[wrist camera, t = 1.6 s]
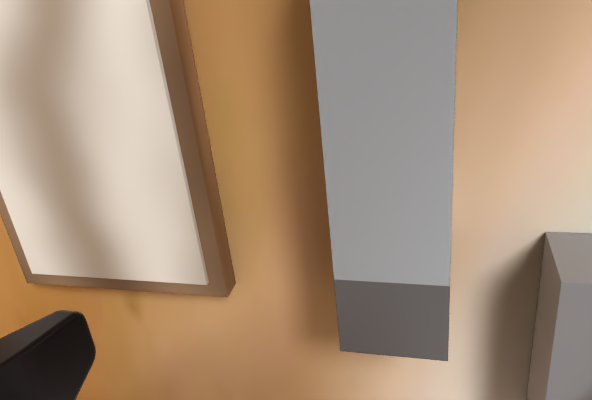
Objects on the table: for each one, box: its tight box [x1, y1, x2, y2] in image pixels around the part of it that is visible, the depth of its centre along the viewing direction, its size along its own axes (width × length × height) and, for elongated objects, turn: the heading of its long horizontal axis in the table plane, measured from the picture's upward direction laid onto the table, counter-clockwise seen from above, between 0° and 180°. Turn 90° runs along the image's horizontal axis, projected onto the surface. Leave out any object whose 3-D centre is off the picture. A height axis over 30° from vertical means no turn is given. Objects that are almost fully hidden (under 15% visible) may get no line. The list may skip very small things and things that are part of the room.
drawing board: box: [0, 0, 235, 297], centre depth 19 cm, size 10×20×1 cm, turn 6°
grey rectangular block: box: [310, 0, 458, 361], centre depth 17 cm, size 4×14×4 cm, turn 6°
